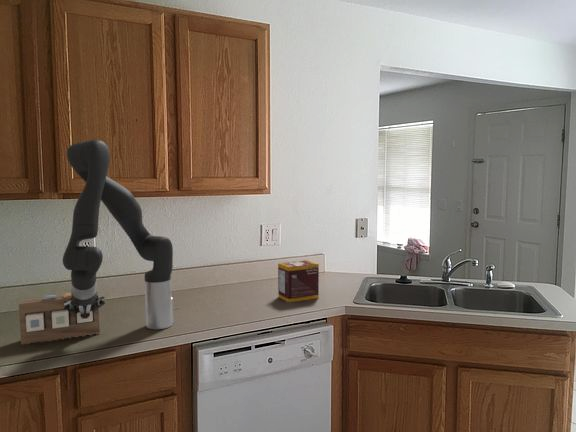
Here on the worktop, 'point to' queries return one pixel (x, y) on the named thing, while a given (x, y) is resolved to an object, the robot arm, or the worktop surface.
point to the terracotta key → (81, 320)
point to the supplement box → (298, 280)
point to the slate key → (35, 321)
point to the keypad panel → (49, 333)
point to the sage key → (60, 318)
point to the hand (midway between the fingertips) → (85, 316)
